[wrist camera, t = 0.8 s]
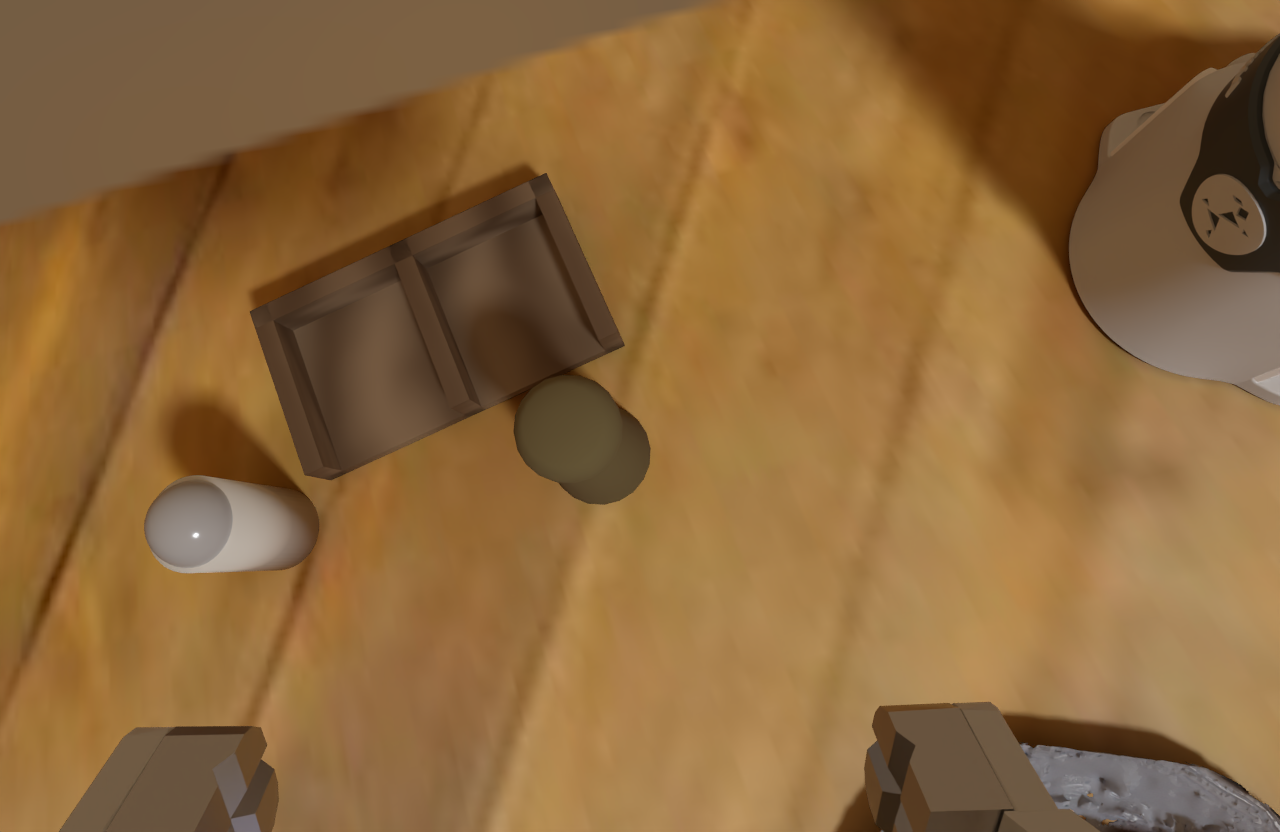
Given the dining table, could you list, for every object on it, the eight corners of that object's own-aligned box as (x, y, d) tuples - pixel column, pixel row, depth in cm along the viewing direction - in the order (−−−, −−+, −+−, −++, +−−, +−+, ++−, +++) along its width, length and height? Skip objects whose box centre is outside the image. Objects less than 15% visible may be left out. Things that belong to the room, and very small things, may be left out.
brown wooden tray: (557, 195, 49) (546, 172, 46) (624, 345, 47) (617, 331, 44) (277, 325, 50) (249, 311, 47) (331, 480, 48) (304, 475, 45)
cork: (547, 410, 47) (492, 366, 36) (645, 399, 46) (620, 351, 35) (554, 509, 46) (499, 495, 35) (655, 499, 45) (631, 481, 34)
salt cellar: (304, 475, 48) (196, 455, 38) (329, 550, 47) (224, 548, 37) (232, 508, 48) (107, 496, 38) (256, 583, 47) (132, 590, 37)
